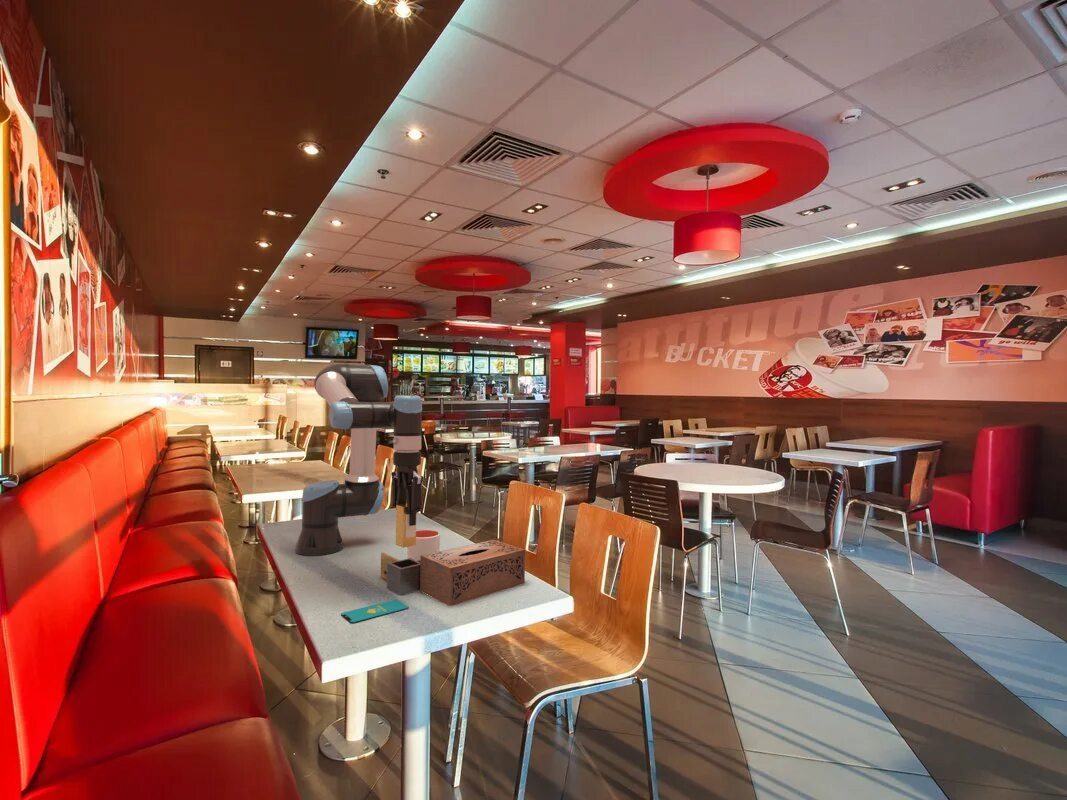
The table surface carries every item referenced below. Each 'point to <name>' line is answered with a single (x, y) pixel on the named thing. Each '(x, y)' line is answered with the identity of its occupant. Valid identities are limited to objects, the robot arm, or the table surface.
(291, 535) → the table surface
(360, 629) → the table surface
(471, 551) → the tissue box cover
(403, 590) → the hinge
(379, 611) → the smartphone
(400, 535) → the pin
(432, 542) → the cup
